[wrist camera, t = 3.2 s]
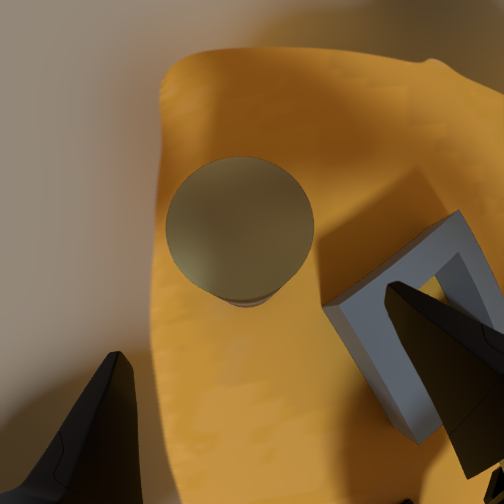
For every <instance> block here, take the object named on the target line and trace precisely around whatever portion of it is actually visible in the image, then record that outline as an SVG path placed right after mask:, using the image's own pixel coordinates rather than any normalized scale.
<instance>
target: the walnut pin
mask: <svg viewBox="0 0 504 504" xmlns="http://www.w3.org/2000/svg"><path fill="white" fill-rule="evenodd" d="M313 235H314V218H313V212H312V208H311V205H310V202H309V200H308V198H307V195H306V194H305V192H304V190H303V189H302V187H301V186H300V185H299V183H298V182H297V181H296V180H295V179H294V178H293V177H292V176H291V175H290V174H289V173H287V172H286V171H285V170H283V169H282V168H280V167H278V166H277V165H275V164H273V163H270V162H268V161H265V160H262V159H258V158H253V157H229V158H224V159H220V160H217V161H214V162H211V163H209V164H207V165H205V166H203V167H201V168H200V169H198V170H197V171H195V172H194V173H193V174H191V175H190V176H189V177H188V178H187V179H186V180H185V181H184V182H183V183H182V185H181V186H180V187H179V189H178V190H177V192H176V193H175V195H174V197H173V199H172V201H171V204H170V206H169V210H168V214H167V219H166V238H167V244H168V247H169V250H170V253H171V255H172V258H173V260H174V262H175V263H176V265H177V266H178V268H179V269H180V271H181V272H182V273H183V274H184V275H185V276H186V277H187V278H188V279H189V280H190V281H191V282H192V283H194V284H195V285H197V286H198V287H200V288H201V289H203V290H205V291H207V292H209V293H211V294H213V295H214V296H216V297H218V298H220V299H222V300H224V301H226V302H228V303H230V304H232V305H235V306H238V307H254V306H258V305H260V304H262V303H264V302H265V301H267V300H268V299H269V298H270V297H271V296H272V295H273V294H275V293H276V292H277V291H278V290H279V289H280V288H281V287H282V286H283V285H284V284H285V283H286V282H287V281H289V280H290V279H291V278H292V277H293V276H294V275H295V274H296V273H297V271H298V270H299V269H300V268H301V266H302V265H303V263H304V261H305V260H306V258H307V256H308V253H309V251H310V249H311V245H312V241H313Z"/></svg>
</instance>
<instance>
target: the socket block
mask: <svg viewBox="0 0 504 504" xmlns="http://www.w3.org/2000/svg"><path fill="white" fill-rule="evenodd" d="M434 274H435V276H436V278H437V280H438V282H439V284H440V286H441V287H442V289H443V291H444V293H445V295H446V297H447V299H448V301H449V303H450V305H451V307H453V308H454V309H456V310H458V311H460V312H462V313H464V314H466V315H468V316H470V317H472V318H474V319H475V320H477V321H479V322H480V323H483V324H485V325H487V326H489V327H491V328H493V329H495V330H497V331H498V332H500V333H503V334H504V298H503V296H502V293H501V291H500V289H499V286H498V284H497V282H496V279H495V277H494V275H493V273H492V270H491V268H490V266H489V264H488V262H487V260H486V258H485V256H484V254H483V252H482V250H481V248H480V246H479V244H478V242H477V240H476V239H475V237H474V235H473V233H472V231H471V229H470V228H469V226H468V224H467V222H466V221H465V219H464V217H463V216H462V214H461V212H460V211H459V210H457V211H455V212H453V213H452V214H450V215H448V216H447V217H445V218H443V219H441V220H440V221H438V222H436V223H434V224H433V225H431V226H429V227H428V228H427V229H426V230H425V231H423V232H422V233H421V234H420V235H418V236H417V237H416V238H415V239H413V240H412V241H411V242H410V243H408V244H407V245H406V246H405V247H403V248H402V249H401V250H400V251H398V252H397V253H396V254H394V255H393V256H392V257H391V258H389V259H388V260H387V261H385V262H384V263H383V264H381V265H380V266H379V267H377V268H376V269H375V270H373V271H372V272H371V273H369V274H368V275H367V276H365V277H364V278H362V279H361V280H360V281H358V282H357V283H356V284H354V285H353V286H351V287H350V288H349V289H347V290H346V291H344V292H343V293H341V294H340V295H339V296H337V297H336V298H334V299H333V300H331V301H330V302H328V303H327V304H326V305H324V306H323V307H322V309H323V311H324V312H325V314H326V315H327V317H328V319H329V320H330V322H331V323H332V325H333V327H334V328H335V330H336V332H337V333H338V335H339V336H340V338H341V340H342V341H343V343H344V345H345V346H346V348H347V349H348V351H349V353H350V354H351V356H352V358H353V359H354V361H355V363H356V364H357V366H358V368H359V369H360V371H361V373H362V374H363V376H364V378H365V379H366V381H367V383H368V385H369V386H370V388H371V390H372V391H373V393H374V395H375V396H376V398H377V400H378V402H379V403H380V405H381V407H382V408H383V410H384V412H385V414H386V415H387V417H388V419H389V421H390V422H391V424H392V426H393V427H394V428H395V429H397V430H398V431H399V432H401V433H402V434H404V435H405V436H406V437H408V438H409V439H411V440H412V441H413V442H415V443H416V444H418V445H420V444H421V443H422V442H423V441H424V440H425V439H427V438H428V437H429V436H430V435H431V434H432V433H433V432H435V431H436V430H437V429H438V428H439V427H440V426H441V425H442V424H443V423H442V421H441V419H440V417H439V415H438V413H437V411H436V409H435V407H434V405H433V403H432V401H431V399H430V397H429V395H428V393H427V391H426V389H425V387H424V385H423V383H422V381H421V379H420V377H419V375H418V374H417V372H416V370H415V368H414V366H413V364H412V362H411V361H410V359H409V357H408V355H407V353H406V352H405V350H404V348H403V346H402V344H401V342H400V340H399V338H398V336H397V333H396V331H395V329H394V326H393V324H392V322H391V320H390V319H389V317H388V313H387V311H386V308H385V305H384V298H385V292H386V286H387V284H388V283H391V282H394V281H401V282H403V283H405V284H407V285H409V286H411V287H413V288H415V289H417V290H418V289H419V288H420V287H421V286H422V285H423V284H425V283H426V282H427V281H428V280H429V279H430V278H431V277H432V276H433V275H434Z"/></svg>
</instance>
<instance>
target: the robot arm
mask: <svg viewBox="0 0 504 504" xmlns="http://www.w3.org/2000/svg"><path fill="white" fill-rule="evenodd" d="M384 305H385V308H386V311H387V313H388V315H389V317H390V319H391V322H392V324H393V326H394V329H395V331H396V333H397V336H398V338H399V340H400V342H401V344H402V346H403V348H404V350H405V352H406V353H407V355H408V357H409V359H410V361H411V362H412V364H413V366H414V368H415V370H416V372H417V374H418V375H419V377H420V379H421V381H422V383H423V385H424V387H425V389H426V391H427V393H428V395H429V397H430V399H431V401H432V403H433V405H434V407H435V409H436V411H437V413H438V415H439V417H440V419H441V421H442V423H443V425H444V427H445V430H446V432H447V434H448V435H449V439H450V441H451V443H452V445H453V448H454V450H455V452H456V454H457V457H458V459H459V462H460V464H461V466H462V469H463V471H464V474H465V476H466V478H467V480H468V479H470V478H472V477H474V476H476V475H478V474H479V473H481V472H483V471H485V470H486V469H488V468H490V467H492V466H493V465H495V464H496V463H498V462H499V463H500V466H499V467H498V468H497V469H496V470H494V471H493V472H492V475H491V479H490V482H489V485H488V488H487V491H486V494H485V497H484V503H485V504H504V334H503V333H500V332H498V331H497V330H495V329H493V328H491V327H489V326H487V325H485V324H483V323H480V322H479V321H477V320H475V319H474V318H472V317H470V316H468V315H466V314H464V313H462V312H460V311H458V310H456V309H454V308H453V307H451V306H449V305H447V304H445V303H443V302H441V301H439V300H437V299H435V298H433V297H431V296H429V295H427V294H425V293H423V292H421V291H419V290H417V289H415V288H413V287H411V286H409V285H407V284H405V283H403V282H401V281H394V282H391V283H388V284H387V286H386V292H385V298H384ZM137 414H138V413H137V402H136V392H135V382H134V372H133V367H132V365H131V364H130V362H129V361H128V360H127V358H126V357H125V356H124V355H123V353H122V352H121V351H115V352H110V353H109V354H108V355H107V356H106V358H105V359H104V361H103V362H102V364H101V365H100V367H99V368H98V369H97V371H96V372H95V374H94V375H93V377H92V378H91V380H90V381H89V383H88V384H87V386H86V387H85V389H84V391H83V392H82V394H81V395H80V397H79V398H78V400H77V401H76V403H75V404H74V406H73V408H72V409H71V411H70V412H69V414H68V415H67V417H66V419H65V420H64V422H63V424H62V425H61V427H60V428H59V431H58V432H57V433H56V435H55V437H54V438H53V440H52V441H51V443H50V445H49V446H48V448H47V449H46V451H45V452H44V454H43V455H42V456H41V458H40V459H39V461H38V462H37V464H36V465H35V467H34V468H33V469H32V471H31V472H30V474H29V475H28V476H27V478H26V479H25V480H24V482H23V483H22V484H21V485H19V486H18V487H16V488H15V489H13V490H10V491H7V492H4V493H1V494H0V504H143V498H142V488H141V477H140V463H139V445H138V415H137ZM401 504H414V503H413V502H412V500H410V499H407V500H405V501H403V502H402V503H401Z"/></svg>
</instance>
